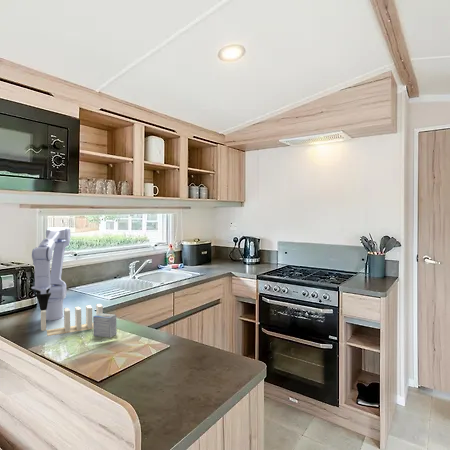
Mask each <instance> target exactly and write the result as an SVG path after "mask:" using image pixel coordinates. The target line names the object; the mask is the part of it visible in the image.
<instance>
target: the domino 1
mask: <svg viewBox="0 0 450 450" xmlns="http://www.w3.org/2000/svg"><path fill="white" fill-rule="evenodd" d="M40 331H41V332H44V331H47V320H46V310H42V311H41V310H40Z"/></svg>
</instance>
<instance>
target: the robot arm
mask: <svg viewBox="0 0 450 450" xmlns="http://www.w3.org/2000/svg"><path fill="white" fill-rule="evenodd" d="M45 237H46V238H44V239H43V240H42V241H41V242H40V243H39V245H38V246H37V247H34V248H33V249H32V251H31V259H32V265H33V266H34V285H33V286H31V289H32V290H34V292H35V297H36V299H37V302H38V307H39V309H40V312H41V311H42V310H46V321H57V320H61V319H64V305H63V304H64V302H63V301H64V300H65V298H66V297H67V293H68V291H67V288H68V287H67V284H66V282H65V281H64V280H62V274H63V273H62V272H63V265H64V258H65V251H66V248H67V247H68V246H70V242H71V241H70V240H71V229H70V227H68V226H66V227H50V226H49V227H47V228H46V230H45ZM51 260H52V261H51Z"/></svg>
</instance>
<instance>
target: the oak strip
mask: <svg viewBox="0 0 450 450" xmlns="http://www.w3.org/2000/svg"><path fill="white" fill-rule="evenodd" d="M81 326H82V329H81V330H77V329H76V327H75V325H70V331H68V332H65V329H64V326H63V327H58V328H57V327H56V328H51V329H46V335H47V337H51V336H57V335H62V334H63V335H64V334H70V333H75V332H82V331H87V330H92V329H93V322H92V328H88V327H87V326H86V323H84V324H83V323H81ZM93 330H94V329H93Z"/></svg>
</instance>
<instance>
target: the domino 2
mask: <svg viewBox="0 0 450 450" xmlns="http://www.w3.org/2000/svg"><path fill="white" fill-rule="evenodd" d="M63 316H64V317H63V327H64V329H65V332H68V331H70V326H71V309H70V308H69V307H65V308H64V307H63Z"/></svg>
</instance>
